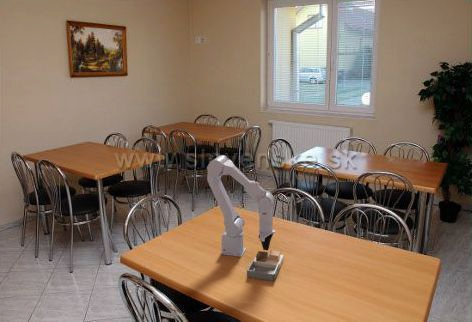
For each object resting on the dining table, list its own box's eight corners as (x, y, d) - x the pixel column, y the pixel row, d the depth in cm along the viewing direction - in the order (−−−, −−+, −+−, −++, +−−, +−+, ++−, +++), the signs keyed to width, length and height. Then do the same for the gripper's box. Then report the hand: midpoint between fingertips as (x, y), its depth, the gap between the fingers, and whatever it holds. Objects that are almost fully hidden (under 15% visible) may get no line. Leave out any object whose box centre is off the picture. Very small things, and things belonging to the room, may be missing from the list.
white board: (253, 265, 165) (253, 261, 164) (258, 255, 173) (258, 251, 173) (279, 269, 161) (279, 265, 161) (283, 259, 170) (283, 255, 169)
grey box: (247, 277, 157) (247, 270, 156) (253, 265, 165) (253, 259, 164) (274, 281, 153) (274, 274, 152) (279, 269, 161) (279, 263, 161)
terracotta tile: (268, 260, 165) (268, 254, 165) (271, 255, 169) (271, 250, 168) (278, 261, 164) (278, 256, 163) (280, 256, 168) (280, 251, 167)
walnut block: (256, 260, 165) (256, 255, 164) (258, 256, 169) (258, 250, 168) (265, 262, 164) (265, 256, 163) (267, 257, 167) (267, 252, 167)
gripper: (271, 228, 161) (271, 258, 165) (278, 215, 174) (278, 243, 178) (254, 226, 163) (254, 256, 167) (263, 213, 177) (263, 241, 180)
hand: (265, 249), depth 172 cm, fingers closed
